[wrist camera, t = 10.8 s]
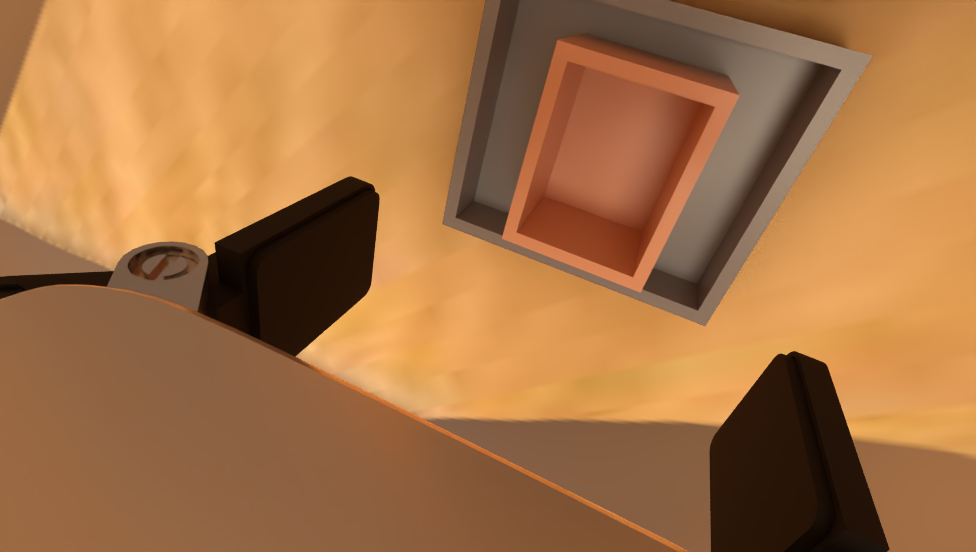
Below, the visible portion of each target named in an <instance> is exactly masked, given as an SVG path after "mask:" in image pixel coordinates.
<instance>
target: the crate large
mask: <svg viewBox="0 0 976 552" xmlns="http://www.w3.org/2000/svg"><path fill="white" fill-rule="evenodd" d="M581 34H589V35H592V36H596V37H599V38H602V39H606V40H609V41H612V42H616V43H619V44H622V45H626V46H629V47H633V48H636V49H639V50H643V51H646V52H649V53H653V54H656V55H659V56H663V57H666V58H670V59H673V60H676V61H680V62H683V63H686V64H690V65H693V66H696V67H700V68H703V69H707V70H710V71H713V72H717V73H720V74H723V75H727V76H729V78H730V79H731V81H732V83H733V85H734V86H735V88H736V90H737V91H738V93H739V95H740V96H739V98H738V100H737V102H736V104H735V106H734V108H733V110H732V112H731V114H730V116H729V118H728V120H727V122H726V124H725V126H724V128H723V130H722V132H721V134H720V136H719V138H718V140H717V142H716V144H715V146H714V148H713V150H712V152H711V154H710V156H709V158H708V160H707V162H706V164H705V166H704V168H703V170H702V172H701V174H700V176H699V178H698V179H697V181H696V183H695V185H694V187H693V189H692V191H691V193H690V195H689V197H688V199H687V201H686V203H685V205H684V207H683V209H682V211H681V213H680V215H679V217H678V219H677V221H676V223H675V225H674V227H673V229H672V231H671V233H670V235H669V237H668V239H667V241H666V243H665V245H664V247H663V249H662V251H661V253H660V255H659V257H658V259H657V261H656V263H655V265H654V267H653V269H652V271H651V273H650V275H649V277H648V279H647V281H646V283H645V285H644V287H643V289H642V291H641V293H640V292H638V291H635V290H632V289H630V288H627V287H625V286H622V285H620V284H617V283H614V282H612V281H609V280H607V279H604V278H602V277H599V276H596V275H594V274H591V273H589V272H586V271H584V270H581V269H578V268H576V267H573V266H571V265H568V264H566V263H563V262H560V261H558V260H555V259H553V258H550V257H548V256H545V255H542V254H540V253H537V252H535V251H532V250H530V249H527V248H524V247H522V246H519V245H517V244H514V243H512V242H509V241H506V240H504V239H502V236H503V232H504V229H505V225H506V222H507V218H508V214H509V211H510V207H511V204H512V200H513V197H514V193H515V190H516V186H517V182H518V179H519V175H520V172H521V168H522V165H523V161H524V157H525V154H526V150H527V147H528V143H529V140H530V136H531V133H532V129H533V125H534V122H535V118H536V115H537V111H538V108H539V104H540V101H541V97H542V93H543V90H544V86H545V83H546V79H547V76H548V72H549V69H550V65H551V61H552V58H553V54H554V51H555V47H556V44H557V40H560V39H564V38H568V37H572V36H576V35H581ZM872 57H873V55H869V54H865V53H862V52H858V51H854V50H850V49H847V48H843V47H839V46H836V45H832V44H828V43H825V42H821V41H817V40H814V39H810V38H806V37H802V36H799V35H795V34H791V33H788V32H784V31H780V30H777V29H773V28H769V27H766V26H762V25H758V24H754V23H751V22H747V21H743V20H740V19H736V18H732V17H729V16H725V15H721V14H718V13H714V12H710V11H707V10H703V9H699V8H695V7H692V6H688V5H684V4H681V3H677V2H673V1H670V0H486V1H485V6H484V11H483V17H482V22H481V27H480V32H479V37H478V42H477V48H476V53H475V58H474V63H473V68H472V73H471V79H470V84H469V89H468V94H467V99H466V104H465V110H464V115H463V120H462V125H461V130H460V135H459V140H458V146H457V151H456V156H455V161H454V166H453V171H452V177H451V182H450V187H449V192H448V197H447V202H446V208H445V213H444V218H443V223H442V224H444V225H446V226H449V227H451V228H454V229H457V230H459V231H462V232H464V233H467V234H469V235H472V236H475V237H477V238H480V239H482V240H485V241H487V242H490V243H493V244H495V245H498V246H500V247H503V248H505V249H508V250H511V251H513V252H516V253H518V254H521V255H523V256H526V257H529V258H531V259H534V260H536V261H539V262H541V263H544V264H547V265H549V266H552V267H554V268H557V269H559V270H562V271H565V272H567V273H570V274H572V275H575V276H577V277H580V278H583V279H585V280H588V281H590V282H593V283H595V284H598V285H601V286H603V287H606V288H608V289H611V290H613V291H616V292H619V293H621V294H624V295H626V296H629V297H631V298H634V299H637V300H639V301H642V302H644V303H647V304H649V305H652V306H655V307H657V308H660V309H662V310H665V311H667V312H670V313H673V314H675V315H678V316H680V317H683V318H685V319H688V320H691V321H693V322H696V323H698V324H701V325H703V326H706V324H707V323H708V321H709V319H710V318H711V316H712V314H713V313H714V311H715V310H716V308H717V306H718V305H719V303H720V302H721V300H722V298H723V297H724V295H725V294H726V292H727V290H728V289H729V287H730V285H731V284H732V282H733V281H734V279H735V277H736V276H737V274H738V273H739V271H740V269H741V268H742V266H743V264H744V263H745V261H746V260H747V258H748V256H749V255H750V253H751V252H752V250H753V248H754V247H755V245H756V244H757V242H758V240H759V239H760V237H761V235H762V234H763V232H764V231H765V229H766V227H767V226H768V224H769V223H770V221H771V219H772V218H773V216H774V215H775V213H776V211H777V210H778V208H779V206H780V205H781V203H782V202H783V200H784V198H785V197H786V195H787V194H788V192H789V190H790V189H791V187H792V186H793V184H794V182H795V181H796V179H797V177H798V176H799V174H800V173H801V171H802V169H803V168H804V166H805V165H806V163H807V161H808V160H809V158H810V157H811V155H812V153H813V152H814V150H815V148H816V147H817V145H818V144H819V142H820V140H821V139H822V137H823V136H824V134H825V132H826V131H827V129H828V128H829V126H830V124H831V123H832V121H833V119H834V118H835V116H836V115H837V113H838V111H839V110H840V108H841V107H842V105H843V103H844V102H845V100H846V98H847V97H848V95H849V94H850V92H851V90H852V89H853V87H854V86H855V84H856V82H857V81H858V79H859V78H860V76H861V74H862V73H863V71H864V69H865V68H866V66H867V65H868V63H869V61H870V60H871V58H872Z"/></svg>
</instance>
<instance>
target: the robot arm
mask: <svg viewBox="0 0 976 552" xmlns="http://www.w3.org/2000/svg"><path fill="white" fill-rule="evenodd" d="M378 211H379V194H378V193H376V192H375V188H374V186H373V185H372V184H370V183H367V182H365V181H362V180H359V179H357V178H354V177H351V176H350V177H347V178H345V179H343V180H341V181H339V182H336V183H334V184H332V185H330V186H328V187H326V188H324V189H322V190H320V191H318V192H316V193H314V194H312V195H310V196H308V197H306V198H304V199H302V200H300V201H298V202H296V203H294V204H292V205H290V206H288V207H286V208H284V209H282V210H280V211H278V212H276V213H274V214H272V215H270V216H268V217H266V218H264V219H262V220H259V221H257V222H255V223H253V224H251V225H249V226H247V227H245V228H243V229H241V230H239V231H237V232H235V233H233V234H231V235H229V236H227V237H225V238H223V239H221V240H219V241H217V242H215V250H216V252H215V253H213V254H211V255H209V256H207V254H206V253H205V252H204V251H203V250H202V249H200V248H198V247H197V246H195V245H191V244H187V243H182V242H157V243H152V244H147V245H143V246H141V247H138V248H136V249H133V250H131V251H130V252H128V253H127V254H125V255H124V256H123V257H122V258H121V259H120V261H119V262H118V264H117V266H116V268H115V270H114V271H108V272H87V273H65V274H43V275H22V276H5V277H0V552H689V551H687V550H685V549H683V548H681V547H679V546H677V545H675V544H674V543H672V542H670V541H668V540H666V539H664V538H662V537H660V536H658V535H656V534H654V533H652V532H650V531H648V530H646V529H644V528H642V527H639V526H638V525H636V524H634V523H632V522H630V521H628V520H626V519H624V518H622V517H620V516H618V515H616V514H614V513H612V512H610V511H607V510H606V509H604V508H602V507H600V506H598V505H596V504H594V503H592V502H590V501H588V500H585V499H584V498H582V497H580V496H578V495H576V494H574V493H572V492H570V491H568V490H565V489H564V488H561V487H560V486H558V485H556V484H553V483H552V482H550V481H547V480H545V479H543V478H542V477H540V476H538V475H536V474H533V473H532V472H530V471H527V470H525V469H523V468H521V467H519V466H517V465H515V464H513V463H511V462H509V461H507V460H505V459H503V458H501V457H499V456H497V455H495V454H493V453H491V452H489V451H486V450H485V449H483V448H481V447H479V446H477V445H475V444H473V443H470V442H469V441H467V440H464V439H463V438H461V437H458V436H456V435H454V434H452V433H450V432H448V431H446V430H444V429H442V428H440V427H438V426H436V425H434V424H432V423H430V422H428V421H426V420H424V419H422V418H420V417H418V416H416V415H414V414H412V413H410V412H408V411H406V410H404V409H401V408H399V407H397V406H395V405H393V404H391V403H389V402H387V401H385V400H383V399H381V398H379V397H377V396H375V395H373V394H371V393H369V392H367V391H364V390H362V389H360V388H358V387H356V386H354V385H352V384H350V383H348V382H346V381H344V380H342V379H340V378H338V377H336V376H334V375H331V374H329V373H327V372H325V371H323V370H321V369H319V368H317V367H315V366H313V365H311V364H309V363H307V362H305V361H303V360H301V359H298V358H296V357H295V356H296V355H298V354H299V353H300V352H301V351H302V350H303V349H304V348H306V347H307V346H308V345H309V344H310V343H311V342H313V341H314V340H315V339H316V338H317V337H318V336H319V335H321V334H322V333H323V332H324V331H325V330H326V329H327V328H329V327H330V326H331V325H332V324H333V323H334V322H335V321H337V320H338V319H339V318H340V317H341V316H342V315H344V314H345V313H346V312H347V311H348V310H349V309H350V308H352V307H353V306H354V305H355V304H356V303H357V302H358V301H360V300H361V299H362V298H363V297H364V296H365V295H366V294H367V292H368V291H369V289H370V286H371V281H372V271H373V261H374V251H375V241H376V231H377V221H378ZM710 511H711V552H887V551H888V550H889V546H888V543H887V541H886V537H885V534H884V532H883V529H882V526H881V523H880V520H879V517H878V514H877V511H876V508H875V505H874V502H873V499H872V496H871V493H870V490H869V488H868V485H867V482H866V479H865V476H864V473H863V470H862V467H861V464H860V461H859V458H858V455H857V452H856V449H855V446H854V443H853V440H852V437H851V434H850V432H849V429H848V426H847V423H846V420H845V417H844V414H843V411H842V408H841V405H840V402H839V399H838V396H837V393H836V390H835V387H834V384H833V382H832V379H831V376H830V373H829V370H828V367H827V365H826V364H825V363H823V362H821V361H819V360H816V359H813V358H811V357H808V356H806V355H803V354H801V353H798V352H796V351H793V352H790V353H789V354H788V355H784V354H778V355H777V356H776V357H775V358H774V359H773V360H772V362H771V363H770V364H769V365H768V367H767V368H766V369H765V371H764V372H763V373H762V375H761V376H760V377H759V378H758V380H757V381H756V382H755V384H754V385H753V386H752V387H751V389H750V390H749V391H748V393H747V394H746V395H745V396H744V398H743V399H742V400H741V402H740V403H739V404H738V406H737V407H736V408H735V409H734V411H733V412H732V413H731V415H730V416H729V417H728V418H727V420H726V421H725V422H724V424H723V425H722V426H721V428H720V429H719V430H718V432H717V433H716V434H715V436H714V438H713V440H712V442H711V446H710Z"/></svg>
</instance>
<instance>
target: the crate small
mask: <svg viewBox="0 0 976 552" xmlns="http://www.w3.org/2000/svg"><path fill="white" fill-rule="evenodd" d="M739 96H740V95H739V93H738V91H737V90H736V88H735V86H734V85H733V83H732V81H731V79H730V78H729V76H727V75H723V74H720V73H717V72H713V71H710V70H707V69H703V68H700V67H696V66H693V65H690V64H686V63H683V62H680V61H676V60H673V59H670V58H666V57H663V56H659V55H656V54H653V53H649V52H646V51H643V50H639V49H636V48H633V47H629V46H626V45H622V44H619V43H616V42H612V41H609V40H606V39H602V38H599V37H596V36H592V35H589V34H581V35H576V36H572V37H568V38H564V39H560V40H557V44H556V47H555V51H554V54H553V58H552V61H551V65H550V69H549V72H548V76H547V79H546V83H545V86H544V90H543V93H542V97H541V101H540V104H539V108H538V111H537V115H536V118H535V122H534V125H533V129H532V133H531V136H530V140H529V143H528V147H527V150H526V154H525V157H524V161H523V165H522V168H521V172H520V175H519V179H518V182H517V186H516V190H515V193H514V197H513V200H512V204H511V207H510V211H509V214H508V218H507V222H506V225H505V229H504V232H503V236H502V239H504V240H506V241H509V242H512V243H514V244H517V245H519V246H522V247H524V248H527V249H530V250H532V251H535V252H537V253H540V254H542V255H545V256H548V257H550V258H553V259H555V260H558V261H560V262H563V263H566V264H568V265H571V266H573V267H576V268H578V269H581V270H584V271H586V272H589V273H591V274H594V275H596V276H599V277H602V278H604V279H607V280H609V281H612V282H614V283H617V284H620V285H622V286H625V287H627V288H630V289H632V290H635V291H638V292H640V293H641V291H642V289H643V287H644V285H645V283H646V281H647V279H648V277H649V275H650V273H651V271H652V269H653V267H654V265H655V263H656V261H657V259H658V257H659V255H660V253H661V251H662V249H663V247H664V245H665V243H666V241H667V239H668V237H669V235H670V233H671V231H672V229H673V227H674V225H675V223H676V221H677V219H678V217H679V215H680V213H681V211H682V209H683V207H684V205H685V203H686V201H687V199H688V197H689V195H690V193H691V191H692V189H693V187H694V185H695V183H696V181H697V179H698V178H699V176H700V174H701V172H702V170H703V168H704V166H705V164H706V162H707V160H708V158H709V156H710V154H711V152H712V150H713V148H714V146H715V144H716V142H717V140H718V138H719V136H720V134H721V132H722V130H723V128H724V126H725V124H726V122H727V120H728V118H729V116H730V114H731V112H732V110H733V108H734V106H735V104H736V102H737V100H738V98H739Z"/></svg>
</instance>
